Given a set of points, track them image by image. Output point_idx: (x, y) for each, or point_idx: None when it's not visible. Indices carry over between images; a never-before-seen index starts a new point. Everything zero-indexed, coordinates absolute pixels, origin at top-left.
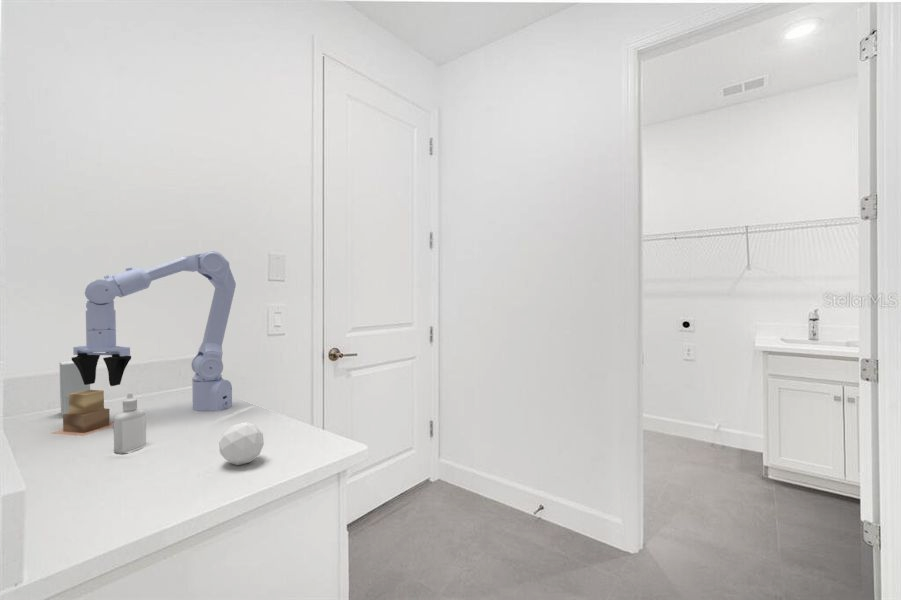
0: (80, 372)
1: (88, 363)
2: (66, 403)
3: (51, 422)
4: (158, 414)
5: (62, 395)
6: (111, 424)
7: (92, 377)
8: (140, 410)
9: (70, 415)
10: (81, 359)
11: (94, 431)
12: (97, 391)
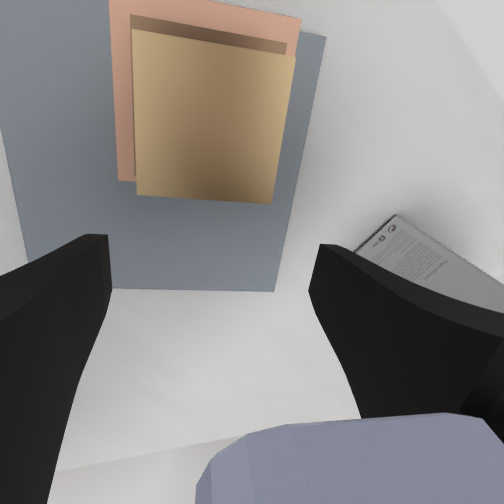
0: (398, 278)
1: (396, 374)
2: (428, 250)
3: (429, 202)
4: (138, 326)
5: (464, 260)
6: None
7: (326, 306)
8: None
9: (233, 33)
10: (470, 365)
11: (118, 55)
12: (152, 162)
